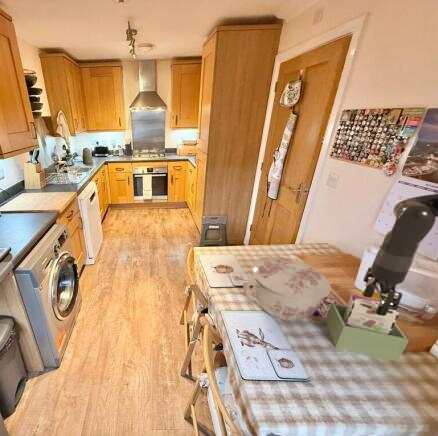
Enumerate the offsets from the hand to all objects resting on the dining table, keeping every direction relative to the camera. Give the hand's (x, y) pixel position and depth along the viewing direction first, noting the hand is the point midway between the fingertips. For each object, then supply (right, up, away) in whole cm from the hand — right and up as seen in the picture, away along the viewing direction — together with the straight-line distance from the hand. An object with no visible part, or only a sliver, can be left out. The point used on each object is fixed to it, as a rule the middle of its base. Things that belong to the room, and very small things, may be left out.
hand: (373, 305), depth 76 cm
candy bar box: (+1, -15, +6) cm, 16 cm away
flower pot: (+13, -11, +15) cm, 23 cm away
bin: (+1, -15, +6) cm, 16 cm away
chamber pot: (-18, -9, +22) cm, 30 cm away
